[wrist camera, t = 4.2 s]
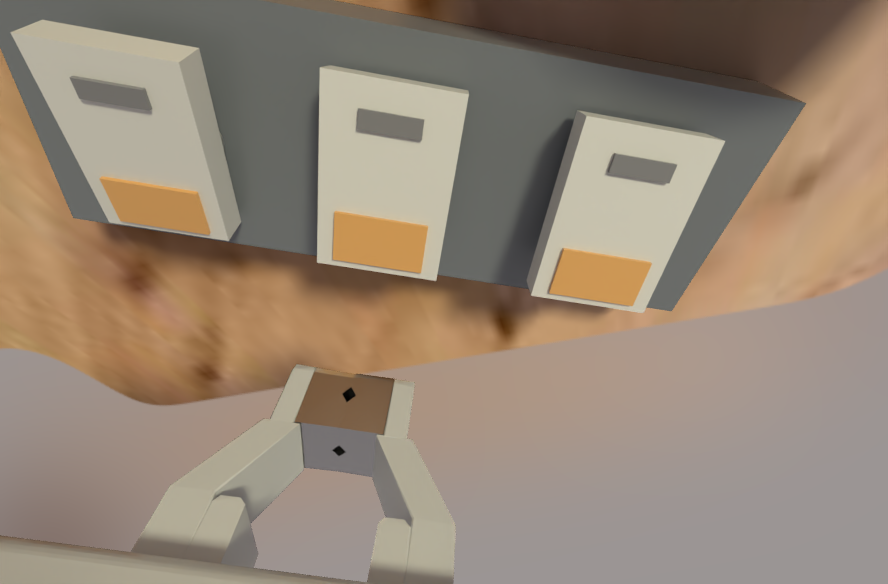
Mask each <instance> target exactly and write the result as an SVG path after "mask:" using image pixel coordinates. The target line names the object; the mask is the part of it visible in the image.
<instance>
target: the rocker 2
mask: <svg viewBox="0 0 888 584" xmlns="http://www.w3.org/2000/svg"><path fill="white" fill-rule="evenodd" d="M468 97H469V92H468V90H463V89H458V88H452V87H447V86H441V85H436V84H430V83H425V82H419V81H414V80H409V79H403V78H398V77H392V76H387V75H381V74H376V73H370V72H365V71H359V70H354V69H348V68H343V67H337V66H332V65H329V66H324V67H320V81H319V154H318V226H317V263H323V264H330V265H336V266H343V267H349V268H356V269H362V270H369V271H375V272H381V273H388V274H394V275H401V276H407V277H414V278H420V279H427V280H433V281H436V279H437V274H438V268H439V262H440V257H441V251H442V245H443V240H444V234H445V228H446V222H447V217H448V211H449V205H450V200H451V194H452V188H453V182H454V177H455V171H456V165H457V160H458V154H459V148H460V143H461V137H462V131H463V125H464V120H465V114H466V108H467V103H468Z"/></svg>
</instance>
